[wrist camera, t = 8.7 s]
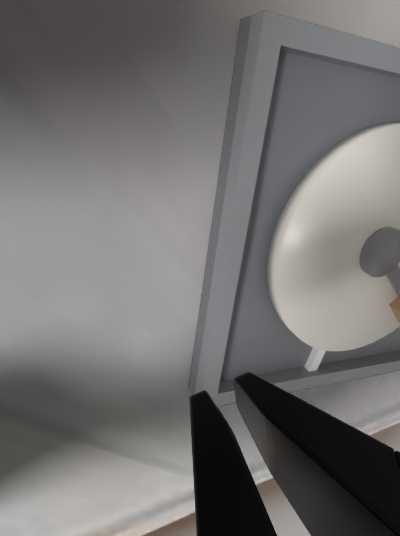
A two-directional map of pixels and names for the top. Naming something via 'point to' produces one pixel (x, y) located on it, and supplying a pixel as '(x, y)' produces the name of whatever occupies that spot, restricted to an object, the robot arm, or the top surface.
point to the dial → (342, 245)
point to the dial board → (282, 196)
